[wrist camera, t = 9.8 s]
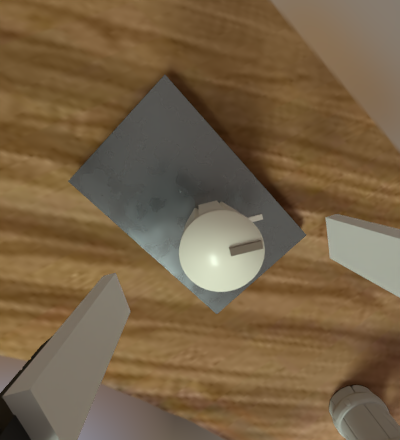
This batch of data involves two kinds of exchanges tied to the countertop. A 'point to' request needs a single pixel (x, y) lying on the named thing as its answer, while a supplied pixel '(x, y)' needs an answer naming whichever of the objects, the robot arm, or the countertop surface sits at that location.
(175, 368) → the countertop surface
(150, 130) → the panel
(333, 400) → the mug
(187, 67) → the countertop surface
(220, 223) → the knob
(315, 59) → the countertop surface
